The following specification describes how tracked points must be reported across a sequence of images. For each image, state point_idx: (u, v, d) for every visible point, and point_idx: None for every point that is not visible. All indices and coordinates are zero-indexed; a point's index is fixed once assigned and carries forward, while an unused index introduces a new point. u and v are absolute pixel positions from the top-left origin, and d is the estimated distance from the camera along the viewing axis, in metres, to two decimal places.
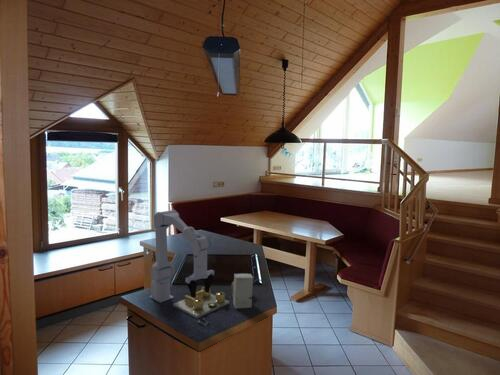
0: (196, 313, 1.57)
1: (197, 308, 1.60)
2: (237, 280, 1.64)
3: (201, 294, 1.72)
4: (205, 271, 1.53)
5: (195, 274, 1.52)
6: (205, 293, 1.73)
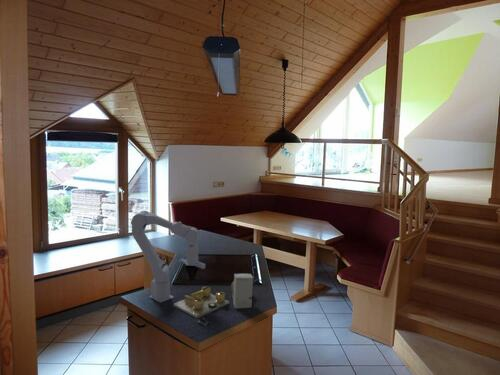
0: (196, 313, 1.57)
1: (197, 308, 1.60)
2: (237, 280, 1.64)
3: (201, 294, 1.72)
4: (189, 259, 1.70)
5: None
6: (205, 293, 1.73)
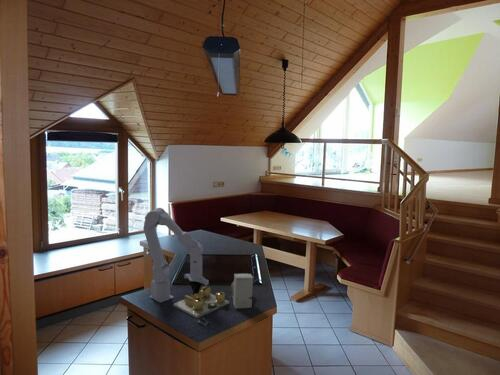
0: (196, 313, 1.57)
1: (197, 308, 1.60)
2: (237, 280, 1.64)
3: (201, 294, 1.72)
4: (193, 275, 1.69)
5: None
6: (205, 293, 1.73)
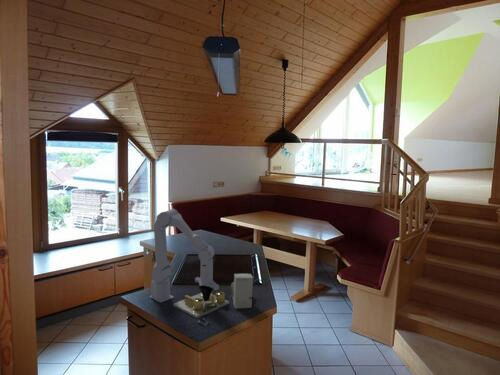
0: (196, 313, 1.57)
1: (197, 308, 1.60)
2: (237, 280, 1.64)
3: None
4: (203, 279, 1.64)
5: None
6: None
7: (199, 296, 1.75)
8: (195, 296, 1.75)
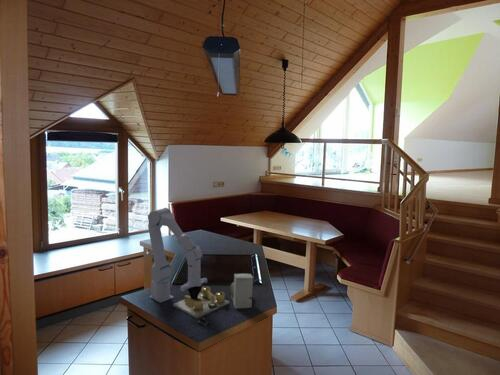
0: (196, 313, 1.57)
1: (197, 308, 1.60)
2: (237, 280, 1.64)
3: None
4: (199, 279, 1.64)
5: (189, 282, 1.63)
6: (209, 292, 1.74)
7: (199, 296, 1.75)
8: None
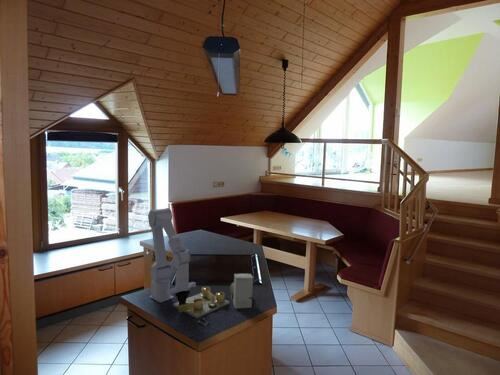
0: (196, 313, 1.57)
1: (202, 307, 1.61)
2: (237, 280, 1.64)
3: None
4: (186, 284, 1.59)
5: (177, 287, 1.58)
6: (209, 292, 1.74)
7: (199, 296, 1.75)
8: (195, 296, 1.75)
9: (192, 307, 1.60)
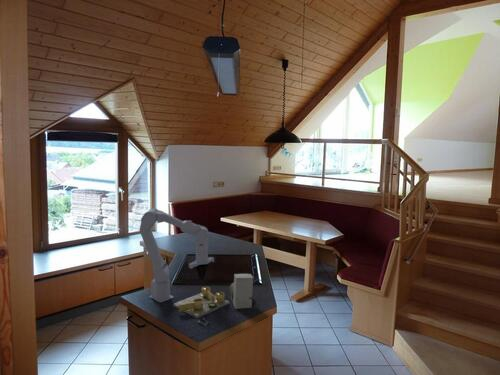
0: (196, 313, 1.57)
1: (202, 307, 1.61)
2: (237, 280, 1.63)
3: None
4: (206, 258, 1.72)
5: (197, 260, 1.71)
6: (209, 292, 1.74)
7: (199, 296, 1.75)
8: (195, 296, 1.75)
9: (192, 307, 1.60)
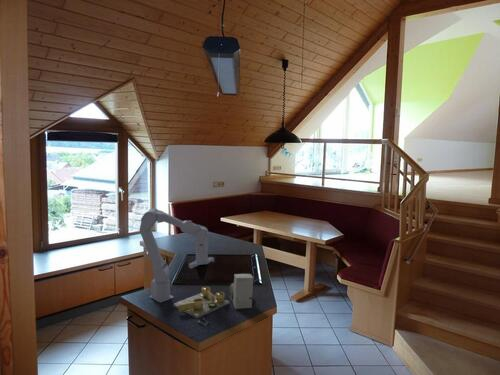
0: (196, 313, 1.57)
1: (202, 307, 1.61)
2: (237, 280, 1.63)
3: None
4: (206, 258, 1.72)
5: (197, 260, 1.71)
6: (209, 292, 1.74)
7: (199, 296, 1.75)
8: (195, 296, 1.75)
9: (192, 307, 1.60)
